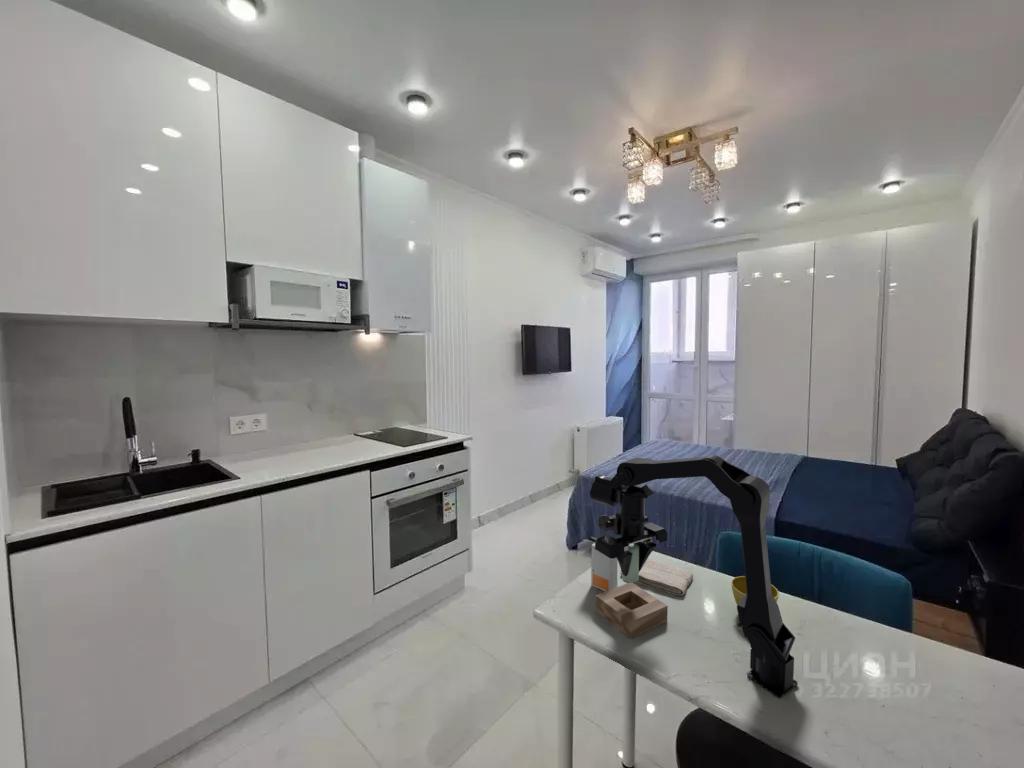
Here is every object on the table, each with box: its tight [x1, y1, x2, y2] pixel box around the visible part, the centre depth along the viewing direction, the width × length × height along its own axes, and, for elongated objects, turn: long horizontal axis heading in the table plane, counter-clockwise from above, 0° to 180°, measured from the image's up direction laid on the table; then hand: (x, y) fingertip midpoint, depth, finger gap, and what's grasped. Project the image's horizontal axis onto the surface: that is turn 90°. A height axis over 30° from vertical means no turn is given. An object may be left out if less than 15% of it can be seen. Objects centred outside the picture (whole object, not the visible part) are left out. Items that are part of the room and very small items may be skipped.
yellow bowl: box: [730, 575, 780, 606], centre depth 104 cm, size 10×10×7 cm
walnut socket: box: [595, 582, 669, 639], centre depth 105 cm, size 12×12×4 cm
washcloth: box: [620, 558, 694, 597], centre depth 122 cm, size 12×18×3 cm, turn 55°
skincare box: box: [590, 542, 619, 592], centre depth 117 cm, size 6×4×12 cm
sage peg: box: [621, 544, 639, 583], centre depth 104 cm, size 4×4×8 cm
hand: (631, 572), depth 104 cm, fingers closed on sage peg, 4 cm apart
